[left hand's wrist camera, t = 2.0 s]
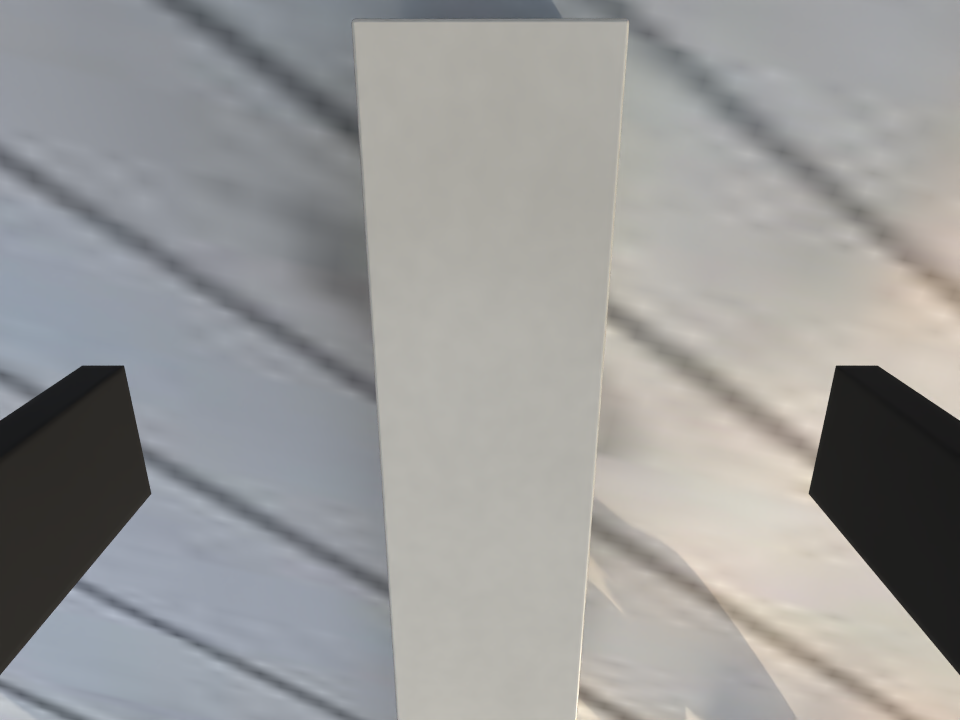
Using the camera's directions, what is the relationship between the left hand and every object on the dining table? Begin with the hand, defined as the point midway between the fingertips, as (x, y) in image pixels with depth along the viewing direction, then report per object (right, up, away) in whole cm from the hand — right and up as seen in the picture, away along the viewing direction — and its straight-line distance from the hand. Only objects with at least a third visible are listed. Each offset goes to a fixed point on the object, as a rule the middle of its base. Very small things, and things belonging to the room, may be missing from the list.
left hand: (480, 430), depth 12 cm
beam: (0, -14, +19) cm, 24 cm away
